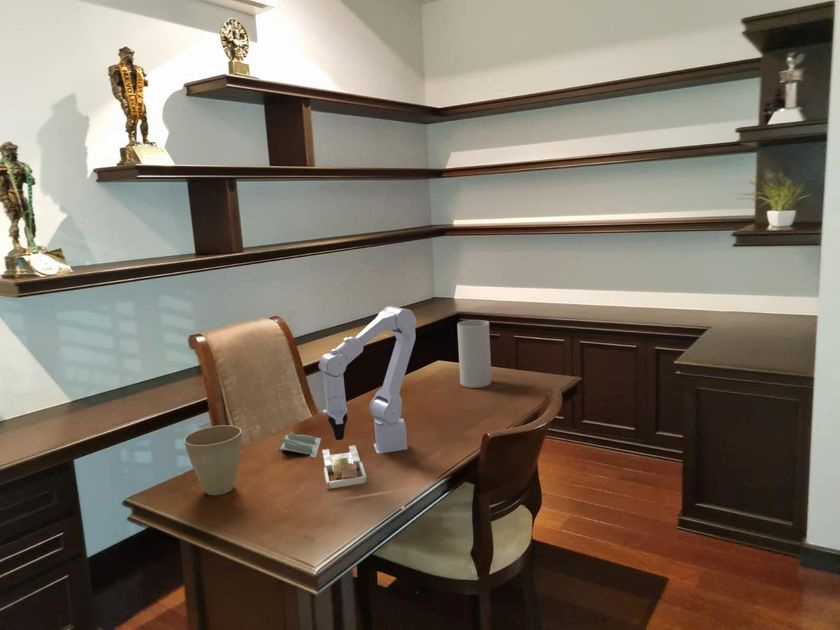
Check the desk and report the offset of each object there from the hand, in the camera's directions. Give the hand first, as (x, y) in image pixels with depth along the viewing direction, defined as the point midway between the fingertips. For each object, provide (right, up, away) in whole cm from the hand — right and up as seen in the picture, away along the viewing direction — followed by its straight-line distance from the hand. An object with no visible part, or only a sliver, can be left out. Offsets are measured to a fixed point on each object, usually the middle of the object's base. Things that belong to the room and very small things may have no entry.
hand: (339, 439), depth 182 cm
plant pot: (-32, -12, -10) cm, 35 cm away
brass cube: (+2, -9, -7) cm, 11 cm away
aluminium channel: (0, -7, +1) cm, 8 cm away
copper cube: (+4, -9, -11) cm, 15 cm away
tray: (+3, -9, -9) cm, 14 cm away
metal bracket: (-13, -7, +13) cm, 20 cm away
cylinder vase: (+46, +8, +69) cm, 84 cm away
